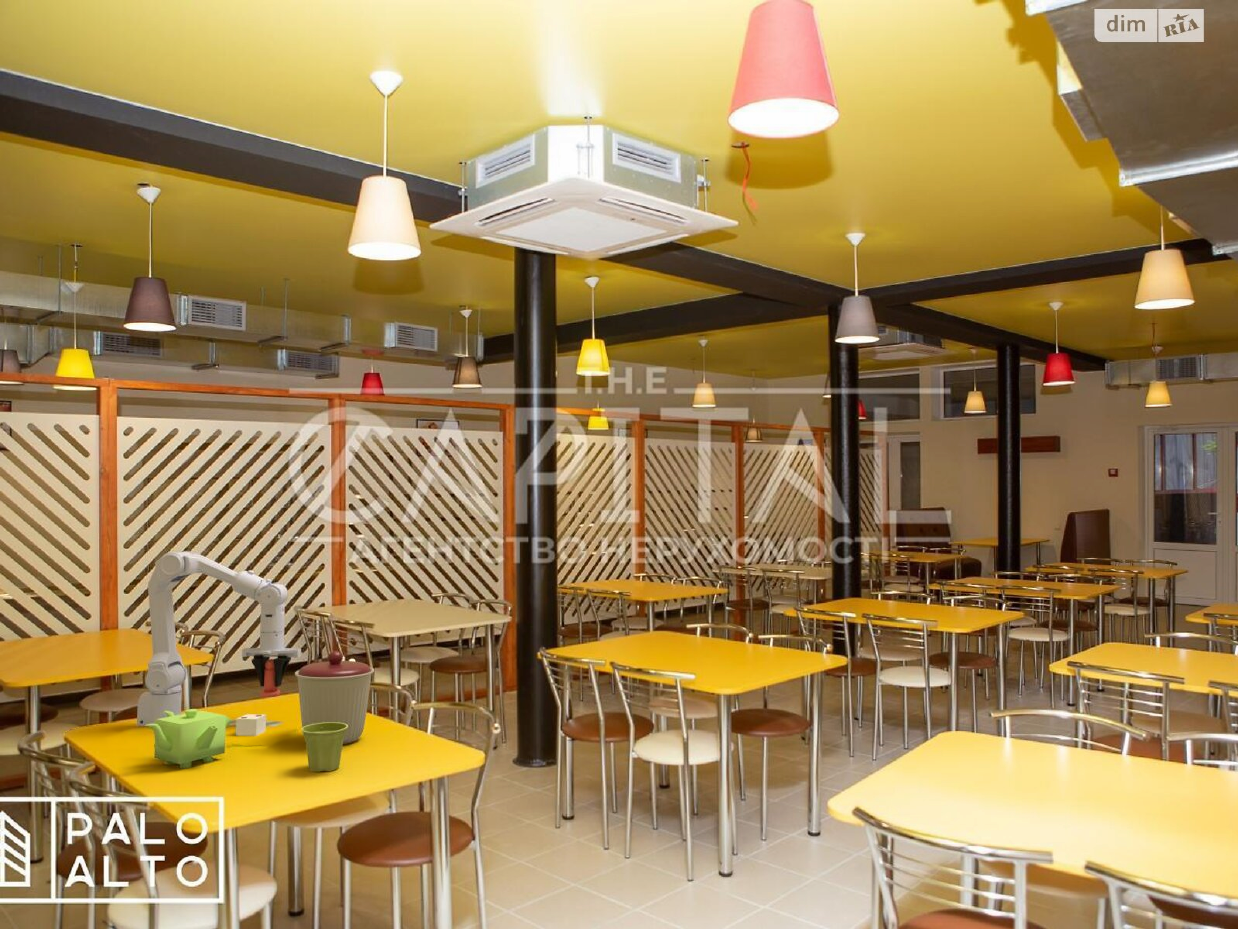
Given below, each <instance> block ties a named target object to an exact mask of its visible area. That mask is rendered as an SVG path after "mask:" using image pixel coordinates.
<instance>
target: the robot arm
mask: <svg viewBox="0 0 1238 929" xmlns="http://www.w3.org/2000/svg"><path fill="white" fill-rule="evenodd" d="M154 564H155V567H154V570H153V572H152V574H151V576H150V578H149V580H148V583H147V592H148V603H149V604H148V605H149V606H148V607H149V617H150V630H151V632H150V633H151V641H152V642H151V644H152V645H151V647H152V656H151V658H150V659H149V662H148V664H147V669H148V670H147V673H146V676H145V680H144V682H145V686H146V688H147V689H148V690H149V691H145V692H143V693H141V695H140V696H139V698H138V702H137V711H136V712H137V717H136V727H146V726H145V725H147V724H156V719H160V718H165V717H167V715H166V713H165V712H164V711H171V712H173V713H174V715H180V714H182V695H183V691H182V690H183V687H182V684H183V683H184V682H186V680H187V669H186V667H185V665H184V664H183V659H182V656H181V654H180V653H179V652H178V650H177V637H176V625H175V624H176V623H175V612H174V600H173V589H174V588H175V587H176V586H177V585H178V584H179V583H180V582H181V581H182V580H183V579H186V578H188V577H189V576H192V575H193V574H203V575H206V576H209V577H212V578H213V579H216V580H219V581H222V582H224V583H227V584H228V585H231V588H232V590H233V592H235V593H237V594H240V595H242V596H245V597H247V598H249V599H251V600H253V601H256V602H258V604H259V605H260V624H259V625H260V627H259V630H260V631H259V647H245V648H243V649H242V650H241V658H243V657H244V658H246V657H253V658H251V663H252V665H253V667H254V669H255V671H256V674H257V676H258V680H259V686H260V687H264V670H265V669H266V668H265V663H266V661H267V660H269V659H271V658H272V659H273V662H274V667H275V687H277V688H279V687H280V686H282V681H283V678H284V675H285V672H286V669H287V667H288V666H289V664H290V662H291V660H292V658H294V659H295V658H297V659H298V658H301V657H302V649H301V648H292V647H291V648H289V647H285V623H286V622H285V619H286V618H285V617H286V614H285V607H286V605H285V604H286V602H287V600H288V598H289V591H288V589H287V587H286V586H285V585H283V584H282V583H281V582H273V583H272V581H273V580H272V579H270V578H267V579H266V578H263V577H261V576H258V575H256V574H255V571H253V570H250V569H249V570H248V571H247V570H241V571H239V572H237V571H234V570H233V569H230V568H229V567H227V566H224V565H222V564H220V563H219V562H216V561H215V560H212V559H210V558H208V557H206V556H204V555H202V554H199V553H195V552H192V551H189V550H184V551H177V552H173V551H171V552H166V553H164V554H163V555H162V556H160V558H159V559H157V560H156V561H155V562H154Z"/></svg>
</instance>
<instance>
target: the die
mask: <svg viewBox="0 0 1238 929" xmlns="http://www.w3.org/2000/svg"><path fill="white" fill-rule="evenodd" d="M235 720H236V726H235V736H239V737H240V736H242V737H243V736H245V737H257V736H259V735H261V734H263V733H265V732H266V731H267V730H266V729H267V728H266V727H267V726H266V721H267V714H252V713H251V714H250V713H247V714H244V715H242V716H240V717H237V718H236V719H235Z"/></svg>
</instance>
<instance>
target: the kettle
mask: <svg viewBox="0 0 1238 929" xmlns="http://www.w3.org/2000/svg"><path fill="white" fill-rule="evenodd" d="M164 712H165V713H166V715H167V717H165V718H160V719H156V724H147V725H145V726H144V727H149V728H150V729H152V731H153V734H154V753H153V754H154V757H153V758H154V759H157V760H161V761H165V762H164V765H174V763H175V764H177V765H179V769H189V768H192V762H194V761H198V760H202V761H203V762H202V763H213V762H215V759H214V758H213V757H215V756H218V755H222V754H225V752H226V729H227V727H228V726H230V725H229V724H230V723H231V722H232V721H231V720H232V719H231V718H230V717H229V716H227V715H225V714H220V713H215V712H210V711H205V710H198V709H196V708H190V709H185V710H184V712H185V713H181V714H180V715H174V713H173V712H171V711H164Z"/></svg>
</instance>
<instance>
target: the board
mask: <svg viewBox="0 0 1238 929" xmlns="http://www.w3.org/2000/svg"><path fill="white" fill-rule="evenodd" d="M231 721H232V722H231V723H230V724H229V725H228V726H235V727H236V719H235V720H232V719H231ZM282 723H285V721H283V720H282V721H278V720H274V721H272V720H266V727H277V726H279V725H280V724H281V725H282Z"/></svg>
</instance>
